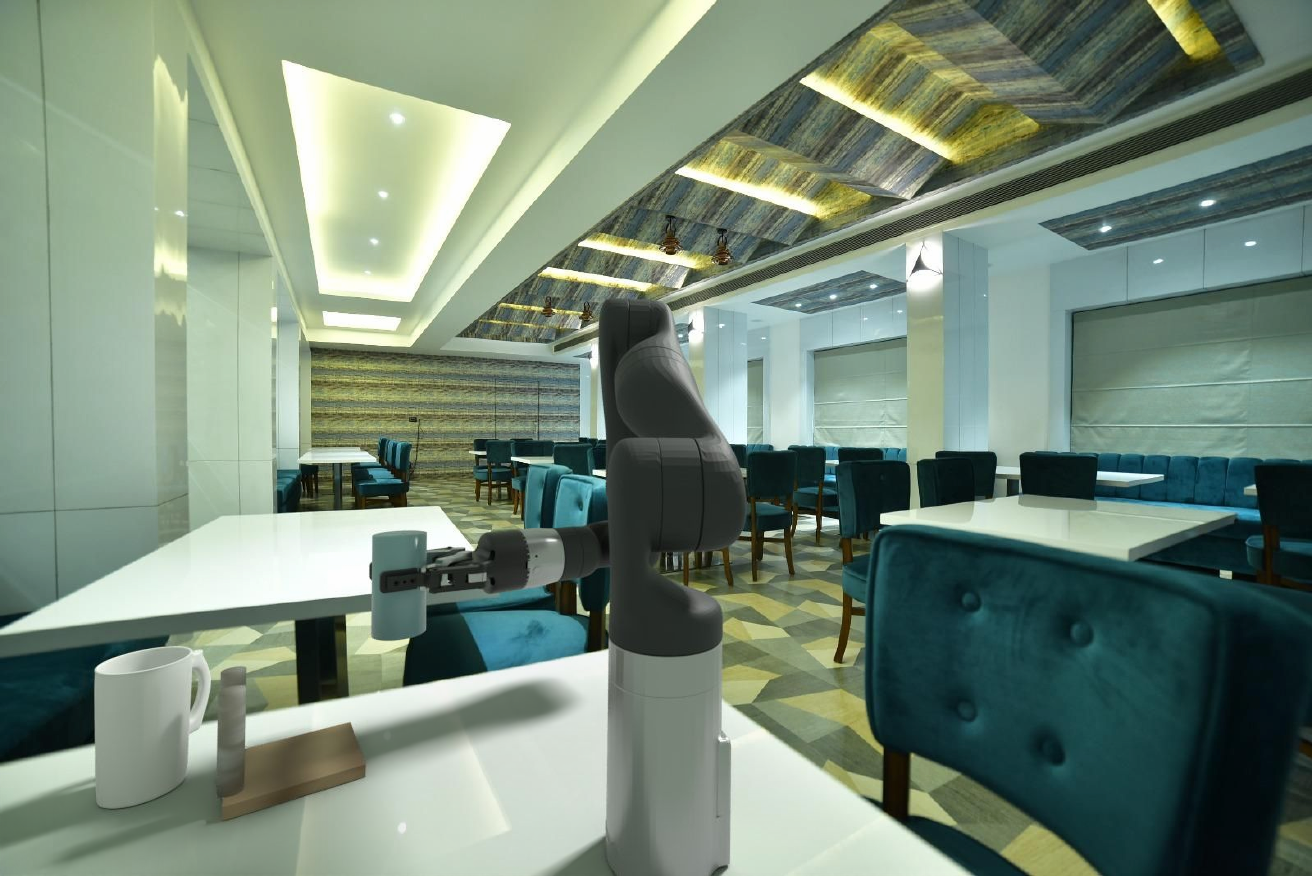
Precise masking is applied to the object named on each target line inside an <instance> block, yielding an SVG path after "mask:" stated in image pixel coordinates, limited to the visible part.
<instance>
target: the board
mask: <svg viewBox="0 0 1312 876" xmlns="http://www.w3.org/2000/svg"><path fill="white" fill-rule="evenodd" d="M219 684H220V685H219V687H220V690H219V691H218V692H217V736H216V737H217V739H216V740H217V743H216V789H215V790H216V793H215V794H216V798H220V799H222V805H221V806H222V811H221V816H222V817H221V822H224V821H227V820H230V819H234V818H237V817H241V816H243V815H246V814H249V813H252V812H255V811H259V810H262V809H263V810H264V809H265V808H269V807H272V806H275V805H278V804H283V803H284V802H288V801H292V800H295V799H298V798H301V797H304V796H307V795H311V794H314V793H317V792H320V791H325V790H326V789H330V788H334V787H336V786H339V785H342V784H346V783H349V782H351V781H352V782H353V781H356V780H359V779H362V778H365V777H366V769H367V768H366V767H367V766H366V765H367V764H366V761H365V759H364V756H363V753H362V750H361V747H360V745H359V742H358V739H357V736H356V733H355V731H354V728H353V725H352V723H351V721H349V722H344V723H340V724H337V725H333V726H329V727H325V728H321V729H317V730H313V731H309V732H306V733H300V734H297V735H293V736H289V737H285V738H281V739H278V740H273V741H269V742H266V743H263V744H262V743H261V744H259V745H254V746H250V747H247V748H246V726H247V725H246V723H247V722H246V719H247V718H246V717H247V714H246V712H247V711H246V710H247V667H246V666H243V665H241V666H237V665H236V666H233V667H228V668H225V669H223V670H222V671H220V683H219Z"/></svg>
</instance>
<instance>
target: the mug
mask: <svg viewBox="0 0 1312 876" xmlns="http://www.w3.org/2000/svg"><path fill="white" fill-rule="evenodd" d="M193 672H194V674H195V675H196V677H197V678H196V679H197V691H196V692H197V693H196V696H195V698H194V699H195V700H194V703H193V705H192V707H191V701H192V700H191V699H192V682H193V681H192V679H193ZM211 678H212V677H211V671H210V668H209V665H208V662H207V660H206V659H205V656H204V651H203V649H194V650H193V649H192V648H190V647H187V646H182V645H181V646H180V645H179V646H178V645H177V646H176V645H174V646H170V645H169V646H160V647H152V648H148V649H141V650H136V651H132V652H128V653H125V654H122V655H118V656H116V657H112V658H110V659H107V660H105V661H103V662H101V663H100V664H98V665H97V666H96V667H95V668H94V755H95V756H94V771H95V772H94V773H95V777H94V779H95V780H94V782H95V801H96V804H97V806H99V807H101V808H103V809H111V810H114V809H115V810H116V809H123V808H130V807H133V806H138V805H140V804H144V803H148V802H149V801H153V800H155V799H158V798H159V797H162V796H164V795H167V794H168V793H169V792H171V791H173V790H175V789H176V788H177V787H179V786H180V785H181V784H182V783H183V782H184V780H186V777H187V775H188V764H189V762H188V761H189V747H190V745H189V744H190V743H189V741H190V735H191V734H192V733H194V732H196V731H198V730H199V729H200V728H201V726H202V723H203V719H204V717H205V712H206V709H207V705H208V703H209V697H210V692H211V683H212V680H211Z"/></svg>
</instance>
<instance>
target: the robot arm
mask: <svg viewBox="0 0 1312 876" xmlns="http://www.w3.org/2000/svg"><path fill="white" fill-rule="evenodd" d="M599 312H600V313H599V316H598V318H599V319H598V337H597V338H598V357H599V359H598V360H599V371H600V372H599V373H600V386H601V387H600V388H601V397H602V408H603V409H602V410H603V417H604V418H603V419H604V428H605V449H606V450H605V496H606V499H607V500H606V501H607V520H601V521H598V522H597V521H596V522H593V523H589V524H585V525H581V526H576V525H575V526H574V525H573V526H565V527H563V526H562V527H553V528H544V527H543V528H542V527H531V528H520V529H509V530H497V531H488V532H486V531H485V532H484V533H483V534H481V536H480V537H479V539H478V541H477V544H476V545H477V546H476V547H475V549H474V550H466V547H465V546H464V547H463V546H462V547H459V546H458V547H454V546H449V545H448V546H447V547H440V548H433V549H427V565H423V566H421V567H419V571H418V569H417V568H408V569H399V570H391V571H383V572H381V573H380V574H379V590H380V591H381V593H392V592H399V591H406V590H413V589H417V587H419V590H421V591H426V592H427V591H428V593H429V594H432V595H436V594H440V593H441V594H442V593H450V592H452V593H453V592H459V591H470V590H482V591H483V592H484V593H485V594H488V595H495V594H500V593H506V592H513V591H520V590H525V589H532V588H539V587H543V586H546V585H549V584H552V583H556V582H565V581H571V580H576V579H577V580H578V579H581V578H586V577H588V576H590V575H592V574H593V573H594V572H595V571H596V570H597V569H602V568H609V572H610V573H609V577H610V578H609V610H608V611H609V613H608V660H607V661H608V662H607V663H608V667H607V668H608V669H607V670H608V671H607V673H608V674H607V675H608V677H607V679H608V681H607V731H606V732H607V735H606V736H607V740H606V742H607V743H606V746H607V747H606V750H607V751H606V796H605V797H606V800H605V801H606V805H605V807H606V809H605V810H606V815H605V852H606V853H605V855H606V859H607V862H608V864H609V867H610V869H611V870H612V871H613V872H614V874H615V875H616V876H712V875H713V874H714V873H715V871H716V870H717V869H718V868H720V867H724V866H728V865H730V863H731V813H732V812H731V810H732V809H731V808H732V807H731V805H732V803H731V802H732V800H731V799H732V798H731V796H732V795H731V794H732V793H731V791H732V787H731V786H732V744H731V743H732V742H731V740H730V738H729V737H728V736H727V735H726V733H725V732H724V731H723V729H722V728H723V727H722V726H723V725H722V722H723V721H722V720H723V716H722V715H723V708H722V707H723V706H722V705H723V634H724V632H723V631H724V628H723V627H724V623H723V622H724V618H723V617H724V615H723V611H722V607H721V604H720V602H719V601H718V600H717V599H716V598H715V597H713V596H711V595H710V594H708V593H706V592H705V591H702V590H699V589H696V588H694V587H692V586H688V585H685V584H682V583H679V582H676V581H675V580H672V579H671V578H668V577H666V576H665V575H663V574H662V573H660V572H659V571H657V570H656V569H655V566H656V565H657V564H658V562H659V560H660V558H661V554H662V553H693V552H694V553H702V552H705V553H706V552H715V551H718V550H723V549H726V548H728V547H731V546H732V545H733V544H734V543H735V542H737V540H738V539H739V538H740V536H741V534H742V532H744V531H743V530H744V528H745V525H746V520H747V510H748V502H747V493H746V486H745V480H744V477H743V473H742V470H741V466H740V465H739V462H738V458H737V456H736V454H735V452H734V451H733V449H732V446H731V445H730V443H729V441H728V439H727V438H726V437H725V435H724V433H723V432H722V431H721V428H720V427H719V426H718V424H717V423H716V421H715V420H714V418H713V417H712V415H711V414H710V413H709V411H708V408H707V407H706V405H705V403H704V401H703V399H702V397H701V393H700V390H699V387H698V385H697V382H696V379H695V376H694V374H693V371H692V369H691V366H690V364H689V363H688V360H687V359H686V357H685V355H684V352H683V350H682V347H681V345H680V342H679V337H678V331H677V327H676V322H675V318H674V314H673V311H672V310H671V308H670V307H669V305H668V304H667V303H665V302H664V301H660V300H656V299H645V298H644V299H642V298H641V299H640V298H626V297H625V298H624V297H623V298H622V297H609V298H607V299H605V300H604V302H602V305H601V308H600V311H599ZM368 578H369V579H370V581H372V561H371V562H370V563H369V565H368Z"/></svg>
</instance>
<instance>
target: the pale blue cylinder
mask: <svg viewBox="0 0 1312 876" xmlns="http://www.w3.org/2000/svg"><path fill="white" fill-rule="evenodd" d="M371 536H372V537H371V538H372V539H371V544H372V545H371V562H372V580H371V607H370V608H371V611H370V612H371V616H370V617H371V618H370V619H371V620H370V621H371V623H370V624H371V626H370V627H371V628H370V629H371V632H370V637H371V638H372V639H374V640H376V641H379V642H380V641H383V642H394V641H401V640H406V639H412V638H415V637H417V636H420V635H422V634H423V633H425V631H426V630H427V591H421V590H419V587H417V589H413V590H406V591H399V592H392V593H381V591H380V590H379V574H380V573H381V572H383V571H391V570H399V569H408V568H417V569H418V571H419V567H421V566H423V565H427V550H428V532H427V531H424V530H416V529H413V530H412V529H410V530H407V529H406V530H405V529H404V530H392V531H391V530H390V531H383V532H378V533H374V534H372V535H371Z"/></svg>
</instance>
